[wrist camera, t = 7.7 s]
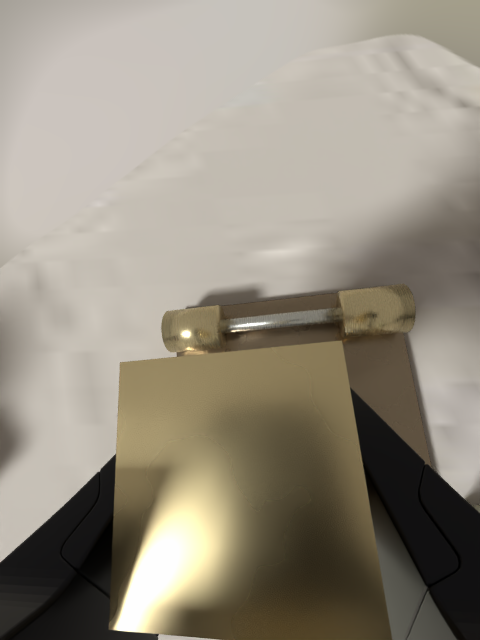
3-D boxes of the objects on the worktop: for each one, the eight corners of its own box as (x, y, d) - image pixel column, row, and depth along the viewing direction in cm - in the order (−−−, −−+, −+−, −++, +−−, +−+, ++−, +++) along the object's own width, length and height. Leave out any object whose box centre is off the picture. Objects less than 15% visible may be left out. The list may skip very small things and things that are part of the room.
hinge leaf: (436, 514, 17) (476, 551, 13) (181, 509, 20) (154, 538, 16) (389, 289, 21) (411, 268, 17) (180, 313, 24) (158, 299, 20)
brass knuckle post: (320, 453, 14) (395, 655, 3) (243, 455, 15) (108, 629, 4) (309, 373, 15) (342, 340, 4) (238, 379, 16) (119, 362, 5)
